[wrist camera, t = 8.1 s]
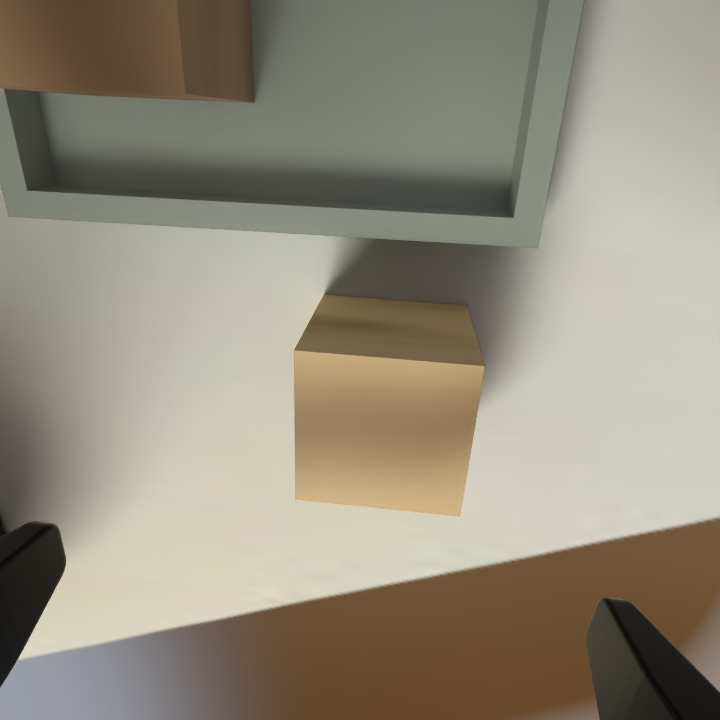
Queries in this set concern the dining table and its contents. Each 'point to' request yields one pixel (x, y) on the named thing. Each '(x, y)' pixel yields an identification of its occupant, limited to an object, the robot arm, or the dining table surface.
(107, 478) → the dining table surface
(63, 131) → the tray
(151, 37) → the walnut block
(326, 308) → the oak block
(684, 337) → the dining table surface
